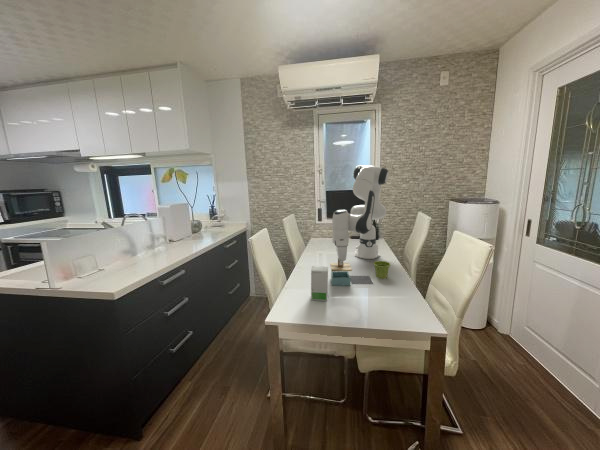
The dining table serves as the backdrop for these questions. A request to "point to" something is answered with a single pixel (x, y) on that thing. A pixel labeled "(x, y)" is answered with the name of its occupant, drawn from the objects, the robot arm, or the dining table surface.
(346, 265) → the lid
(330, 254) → the dining table surface
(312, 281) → the skincare box
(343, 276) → the teal open box
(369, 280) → the mat
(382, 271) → the plant pot
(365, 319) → the dining table surface
